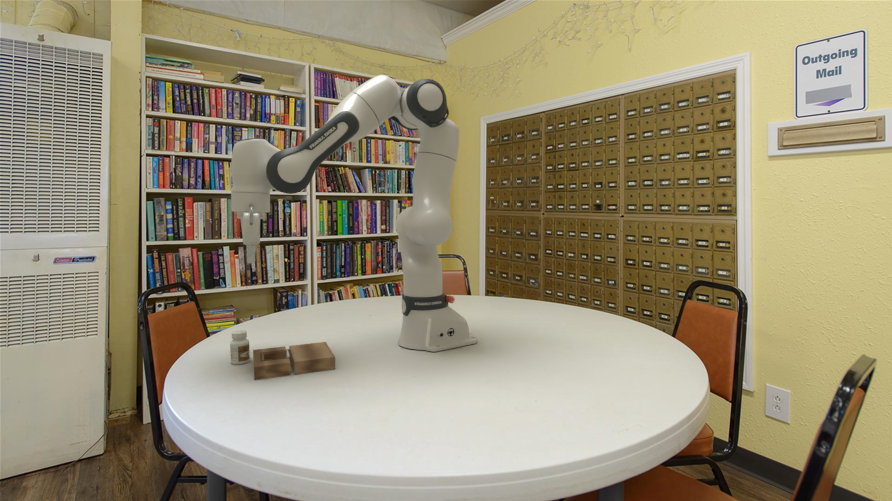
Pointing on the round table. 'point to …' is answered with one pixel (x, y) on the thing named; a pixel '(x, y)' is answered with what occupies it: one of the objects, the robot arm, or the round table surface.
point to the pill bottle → (239, 347)
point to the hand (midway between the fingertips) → (250, 260)
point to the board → (292, 360)
